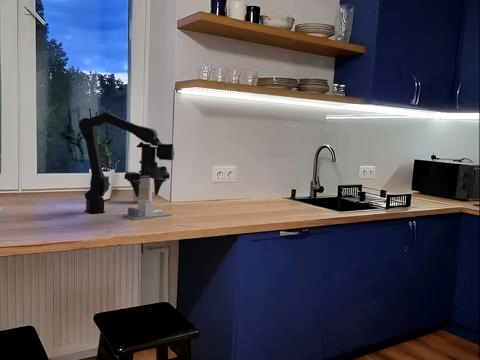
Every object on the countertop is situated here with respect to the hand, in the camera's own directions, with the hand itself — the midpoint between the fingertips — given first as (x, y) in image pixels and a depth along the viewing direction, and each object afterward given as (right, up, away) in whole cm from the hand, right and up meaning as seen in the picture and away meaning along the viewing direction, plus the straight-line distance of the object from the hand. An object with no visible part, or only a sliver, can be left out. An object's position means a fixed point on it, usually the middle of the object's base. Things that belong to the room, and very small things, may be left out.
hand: (146, 195), depth 184 cm
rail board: (0, -8, +2) cm, 9 cm away
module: (-1, -8, +1) cm, 8 cm away
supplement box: (-8, -4, +29) cm, 31 cm away
